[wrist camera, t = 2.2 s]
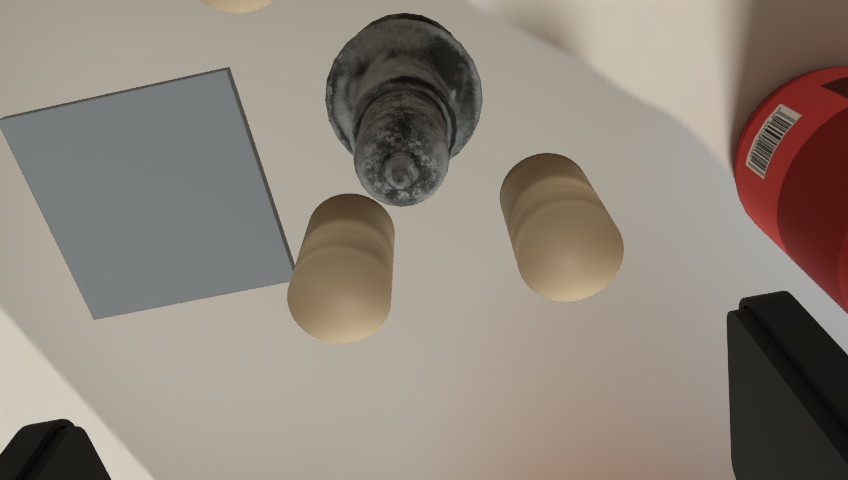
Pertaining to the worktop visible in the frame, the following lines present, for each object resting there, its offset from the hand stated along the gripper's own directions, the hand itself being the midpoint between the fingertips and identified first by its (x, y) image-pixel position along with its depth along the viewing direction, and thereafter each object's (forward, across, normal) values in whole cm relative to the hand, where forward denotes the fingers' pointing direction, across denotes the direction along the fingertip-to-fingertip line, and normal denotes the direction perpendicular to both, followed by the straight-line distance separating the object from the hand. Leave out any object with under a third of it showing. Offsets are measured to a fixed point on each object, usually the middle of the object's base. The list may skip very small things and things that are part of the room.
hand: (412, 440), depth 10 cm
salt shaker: (+22, 0, 0) cm, 22 cm away
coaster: (+22, +12, +3) cm, 25 cm away
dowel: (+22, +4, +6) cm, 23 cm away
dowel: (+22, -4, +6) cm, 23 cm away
